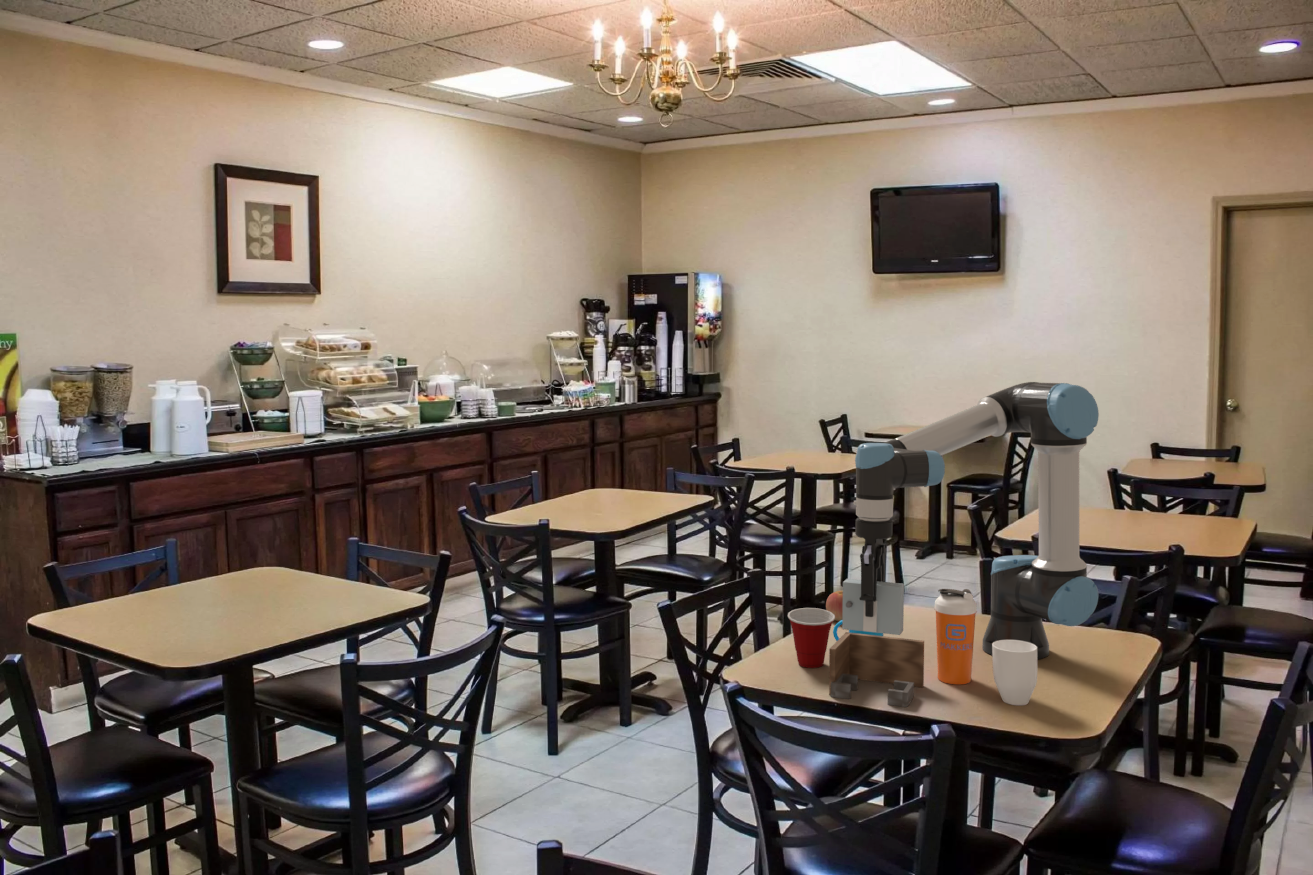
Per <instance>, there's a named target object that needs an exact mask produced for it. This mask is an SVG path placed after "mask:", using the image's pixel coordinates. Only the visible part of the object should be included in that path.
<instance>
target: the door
mask: <svg viewBox="0 0 1313 875" xmlns="http://www.w3.org/2000/svg"><path fill="white" fill-rule="evenodd" d="M842 591H843V619H842V624H841V625H842V630H848V631H849V630H857V631H863V608H864V601H863V600H860V599H859V597H861V579H857V578H856V579H855V578H846V579H845V580H844V581H842ZM904 594H905V584H904V583H902V582H901V583H899V582H889V581H885V582H879V581H877V589H876V601H877V632H875V633H883V635H884V634H885V635H893V636H894V635H895V636H901V634H902V633H903V632H904V615H905V614H904V609H905V608H904V607H905V606H904V605H905V604H904V603H905V600H904V599H905V598H904V597H905V596H904ZM866 632H868V631H866Z"/></svg>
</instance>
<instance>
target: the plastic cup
mask: <svg viewBox="0 0 1313 875" xmlns="http://www.w3.org/2000/svg"><path fill="white" fill-rule="evenodd" d="M787 618H788V619H789V621H790V626H791V629H792V635H793V642H794V649H795V651H796V652H795V654H796V658H797V662H798V665H799V666H800V667H803V668H808V669H815V668H816V669H817V668H818V669H819V668H822V667H823V666H824V663H825V658H826V652H827V649H828V648H827V647H828V642H829V637H830V631H831V628H832V624H833V622H834V621H835V620H834V619H835V615H834V614H833V613H832V612H829V611H827V610H826V609H822V608H818V607H817V608H816V607H803V608H795V609H792V610H791V611H789V612H787Z"/></svg>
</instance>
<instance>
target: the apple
mask: <svg viewBox="0 0 1313 875" xmlns="http://www.w3.org/2000/svg"><path fill="white" fill-rule="evenodd" d="M825 610H827V611H829V612H832V613H833V614H834V615H835V619H834V621H836V622H840V621H841V620H842V619H843V590H837V591H834V592H832V593H831V594H829V596H828V597H827V599H826V602H825Z"/></svg>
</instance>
